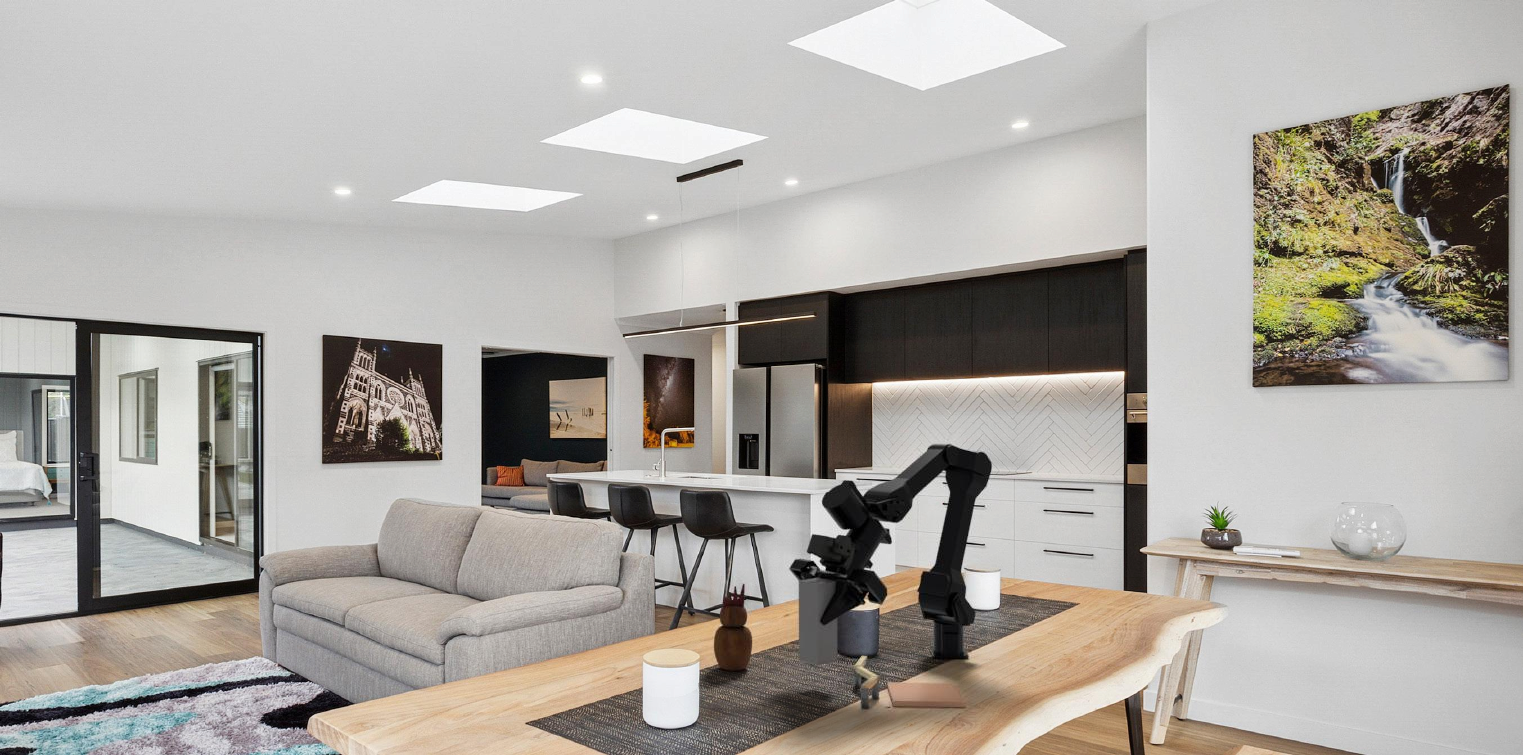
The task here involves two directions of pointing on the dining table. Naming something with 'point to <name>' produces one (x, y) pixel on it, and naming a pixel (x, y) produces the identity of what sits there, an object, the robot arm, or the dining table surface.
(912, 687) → the terracotta tile
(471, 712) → the dining table surface
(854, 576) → the robot arm
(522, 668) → the dining table surface
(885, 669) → the dining table surface
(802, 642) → the gray pillar
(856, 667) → the bent wire
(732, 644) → the wooden figurine
